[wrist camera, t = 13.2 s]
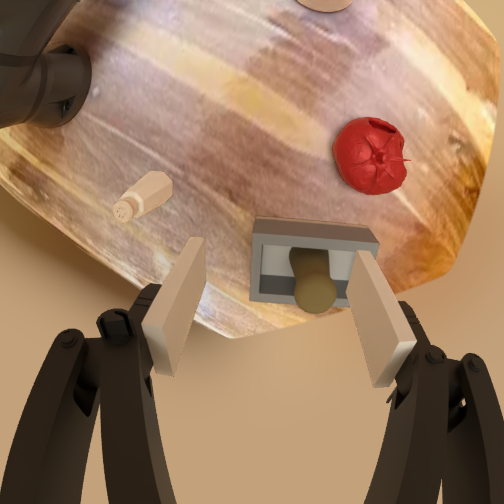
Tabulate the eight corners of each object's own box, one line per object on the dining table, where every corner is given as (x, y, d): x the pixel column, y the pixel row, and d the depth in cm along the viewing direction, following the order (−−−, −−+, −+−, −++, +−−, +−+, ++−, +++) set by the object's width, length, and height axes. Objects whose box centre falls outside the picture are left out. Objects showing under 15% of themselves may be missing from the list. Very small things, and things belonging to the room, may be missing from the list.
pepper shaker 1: (136, 176, 39) (96, 198, 29) (166, 164, 38) (130, 183, 28) (149, 208, 41) (113, 239, 31) (179, 198, 40) (148, 227, 30)
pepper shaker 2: (282, 245, 41) (283, 289, 31) (321, 231, 39) (335, 272, 30) (296, 278, 43) (300, 327, 33) (333, 266, 42) (347, 312, 32)
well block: (353, 285, 44) (361, 307, 39) (253, 278, 45) (249, 301, 40) (367, 225, 39) (379, 243, 34) (256, 216, 40) (252, 232, 35)
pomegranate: (356, 200, 38) (377, 224, 29) (314, 144, 35) (325, 153, 27) (408, 161, 34) (440, 175, 26) (369, 102, 31) (395, 100, 23)
